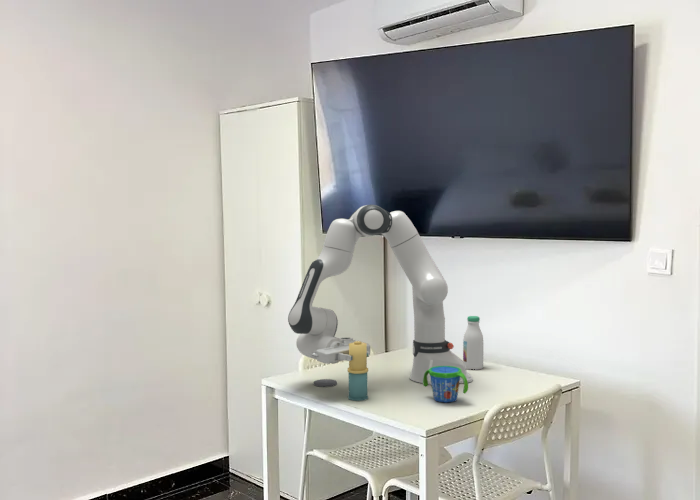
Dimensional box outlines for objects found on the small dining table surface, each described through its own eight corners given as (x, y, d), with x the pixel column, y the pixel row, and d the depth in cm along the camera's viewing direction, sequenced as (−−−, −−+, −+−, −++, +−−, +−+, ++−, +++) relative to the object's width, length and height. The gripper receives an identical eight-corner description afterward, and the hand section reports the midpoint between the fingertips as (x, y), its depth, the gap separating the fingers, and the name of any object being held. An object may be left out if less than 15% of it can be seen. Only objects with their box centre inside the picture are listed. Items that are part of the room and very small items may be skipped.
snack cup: (416, 398, 228) (416, 368, 228) (435, 392, 236) (435, 362, 235) (455, 408, 218) (455, 376, 217) (474, 401, 225) (474, 370, 225)
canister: (367, 394, 233) (366, 368, 233) (369, 400, 227) (368, 373, 226) (347, 395, 233) (347, 368, 232) (348, 401, 226) (348, 373, 226)
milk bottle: (486, 367, 271) (486, 316, 270) (478, 371, 265) (479, 319, 263) (467, 364, 275) (468, 314, 274) (459, 368, 269) (460, 317, 268)
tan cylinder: (367, 368, 233) (367, 339, 232) (369, 373, 226) (369, 343, 225) (346, 368, 232) (346, 340, 232) (348, 373, 225) (348, 344, 225)
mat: (336, 380, 252) (336, 378, 252) (337, 386, 244) (337, 384, 244) (313, 381, 252) (313, 379, 252) (313, 387, 243) (313, 385, 243)
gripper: (308, 345, 231) (335, 351, 221) (353, 336, 245) (381, 342, 235) (308, 364, 232) (335, 371, 221) (353, 354, 245) (381, 361, 235)
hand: (359, 356), depth 228 cm, fingers closed on tan cylinder, 6 cm apart
